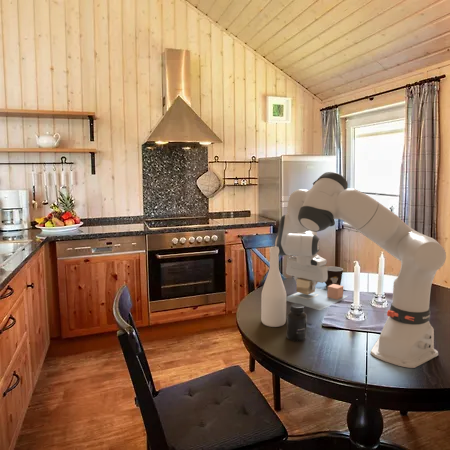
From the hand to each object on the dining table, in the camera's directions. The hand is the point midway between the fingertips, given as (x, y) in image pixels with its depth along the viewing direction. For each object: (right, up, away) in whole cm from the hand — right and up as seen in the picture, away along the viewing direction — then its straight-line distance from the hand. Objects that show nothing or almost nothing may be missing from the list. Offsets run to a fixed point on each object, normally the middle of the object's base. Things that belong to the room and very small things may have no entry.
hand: (305, 287), depth 182 cm
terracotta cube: (+13, -4, -2) cm, 14 cm away
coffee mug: (+15, -3, +14) cm, 21 cm away
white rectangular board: (+4, -5, -3) cm, 7 cm away
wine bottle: (-18, -9, -27) cm, 34 cm away
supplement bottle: (-12, -12, -40) cm, 44 cm away
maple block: (0, -2, 0) cm, 2 cm away
